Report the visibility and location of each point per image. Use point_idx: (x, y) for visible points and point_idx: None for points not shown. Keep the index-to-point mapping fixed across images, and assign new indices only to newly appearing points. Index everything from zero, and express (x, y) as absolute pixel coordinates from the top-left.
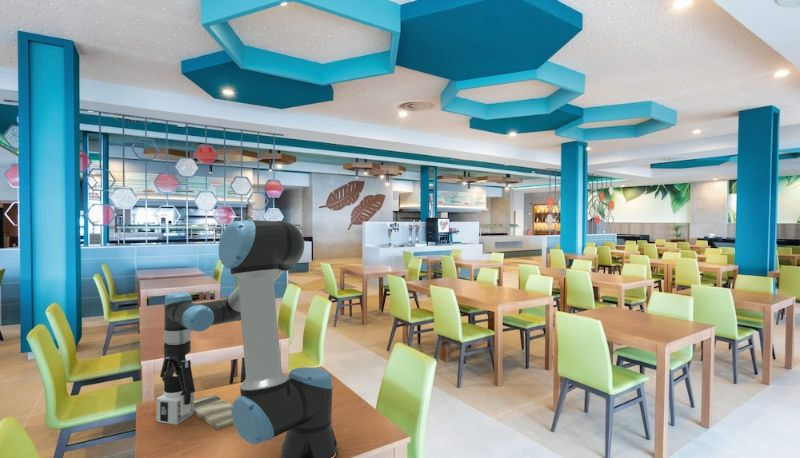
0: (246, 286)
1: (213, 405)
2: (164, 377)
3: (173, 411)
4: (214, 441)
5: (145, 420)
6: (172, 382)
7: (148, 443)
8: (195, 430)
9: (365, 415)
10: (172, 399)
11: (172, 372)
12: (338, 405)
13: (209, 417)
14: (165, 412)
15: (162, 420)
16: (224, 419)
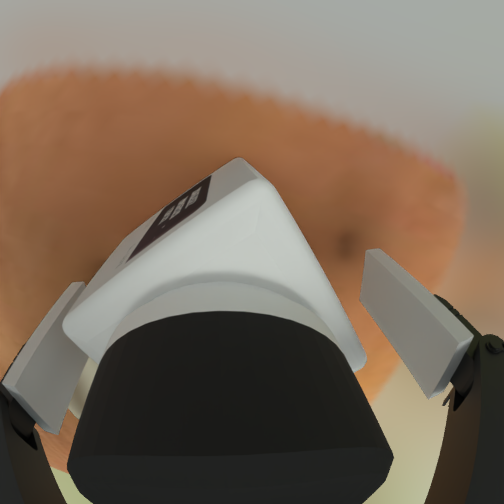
0: None
1: None
2: (490, 380)
3: (110, 259)
4: None
5: (309, 117)
6: (89, 494)
7: (31, 96)
8: (43, 286)
9: (50, 463)
10: (93, 310)
11: (439, 486)
12: None
13: (92, 359)
14: (167, 212)
15: (196, 184)
16: None
